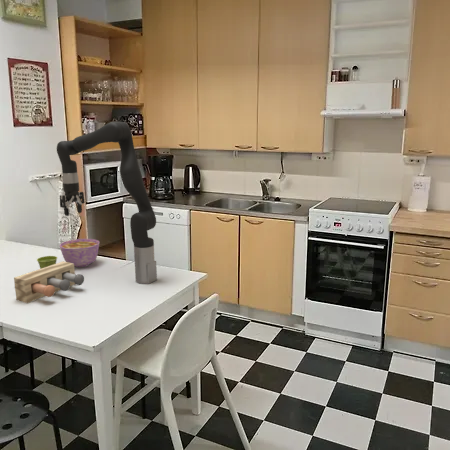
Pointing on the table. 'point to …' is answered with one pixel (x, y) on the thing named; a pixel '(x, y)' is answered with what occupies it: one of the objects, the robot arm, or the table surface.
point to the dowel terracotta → (43, 289)
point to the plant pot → (46, 261)
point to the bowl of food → (80, 251)
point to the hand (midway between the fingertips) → (73, 214)
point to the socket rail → (40, 280)
